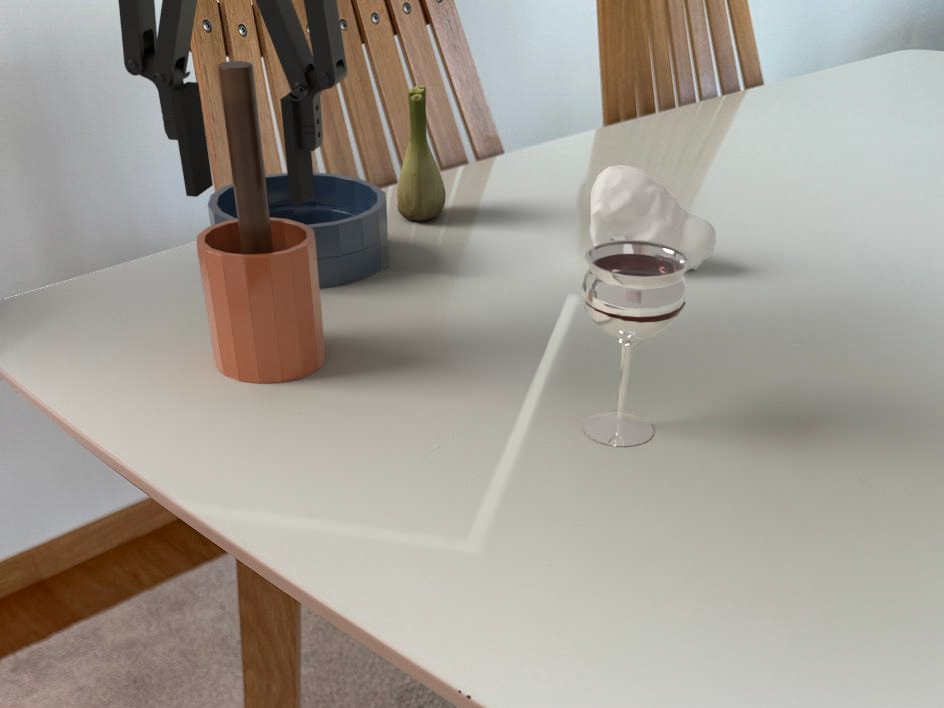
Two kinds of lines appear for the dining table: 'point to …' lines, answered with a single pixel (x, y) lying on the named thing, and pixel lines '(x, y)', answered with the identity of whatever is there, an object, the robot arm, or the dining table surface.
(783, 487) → the dining table surface
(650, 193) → the lumpy white blob
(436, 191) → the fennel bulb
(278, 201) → the bowl
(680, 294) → the wineglass
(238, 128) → the stirring stick
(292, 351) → the pot
